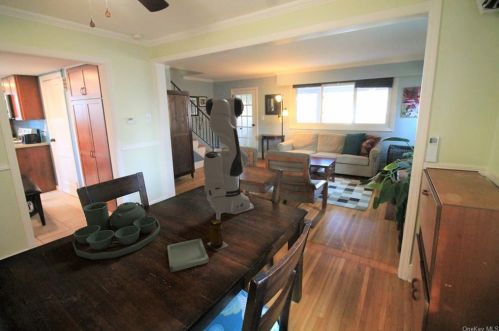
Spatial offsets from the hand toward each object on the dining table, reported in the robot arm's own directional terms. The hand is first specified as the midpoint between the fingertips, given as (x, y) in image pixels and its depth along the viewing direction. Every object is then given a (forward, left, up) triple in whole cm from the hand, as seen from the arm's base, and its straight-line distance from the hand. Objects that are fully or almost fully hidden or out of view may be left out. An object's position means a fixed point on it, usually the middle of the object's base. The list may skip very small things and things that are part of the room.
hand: (215, 215), depth 112 cm
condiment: (0, 0, -16) cm, 16 cm away
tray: (+15, +3, -16) cm, 22 cm away
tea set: (+45, -29, -17) cm, 56 cm away
